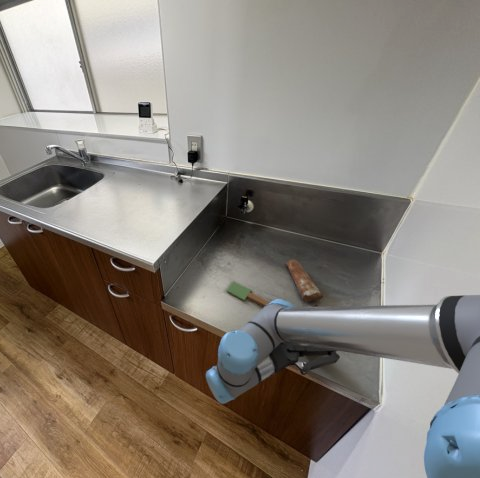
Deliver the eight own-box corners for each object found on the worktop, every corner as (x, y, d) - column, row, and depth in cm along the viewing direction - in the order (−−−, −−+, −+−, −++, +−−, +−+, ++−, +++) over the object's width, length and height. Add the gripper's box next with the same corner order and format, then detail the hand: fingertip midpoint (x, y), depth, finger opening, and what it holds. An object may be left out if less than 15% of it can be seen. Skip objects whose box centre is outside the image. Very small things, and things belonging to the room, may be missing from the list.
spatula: (281, 306, 85) (282, 304, 84) (275, 317, 82) (276, 315, 81) (233, 282, 95) (233, 280, 94) (226, 291, 92) (226, 289, 91)
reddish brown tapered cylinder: (302, 305, 84) (306, 295, 81) (283, 264, 99) (286, 254, 95) (321, 304, 84) (327, 294, 80) (299, 264, 98) (303, 253, 95)
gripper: (236, 331, 72) (296, 300, 78) (295, 408, 56) (364, 362, 62) (238, 316, 67) (302, 284, 73) (304, 396, 52) (378, 348, 57)
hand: (331, 320), depth 68 cm, fingers closed on kendama, 9 cm apart
